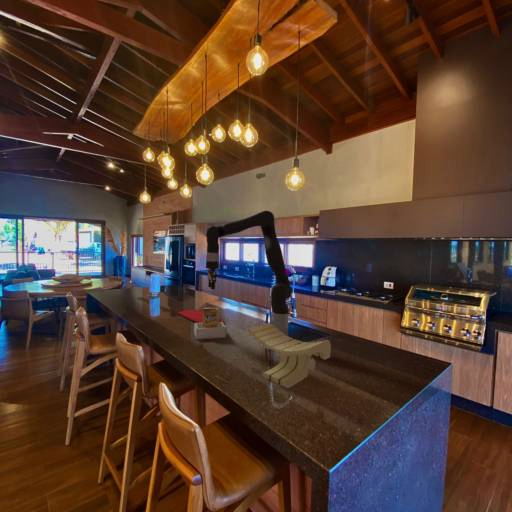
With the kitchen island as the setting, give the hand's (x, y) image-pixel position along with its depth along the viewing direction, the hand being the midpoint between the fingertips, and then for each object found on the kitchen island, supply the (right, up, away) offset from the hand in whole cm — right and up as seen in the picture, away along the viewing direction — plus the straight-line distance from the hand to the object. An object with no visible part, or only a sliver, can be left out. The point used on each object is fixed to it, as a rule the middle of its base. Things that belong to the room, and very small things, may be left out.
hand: (211, 288), depth 161 cm
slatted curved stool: (+39, -31, -47) cm, 68 cm away
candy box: (-1, -27, +1) cm, 27 cm away
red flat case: (-14, -27, +36) cm, 47 cm away
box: (-1, -28, +1) cm, 28 cm away
